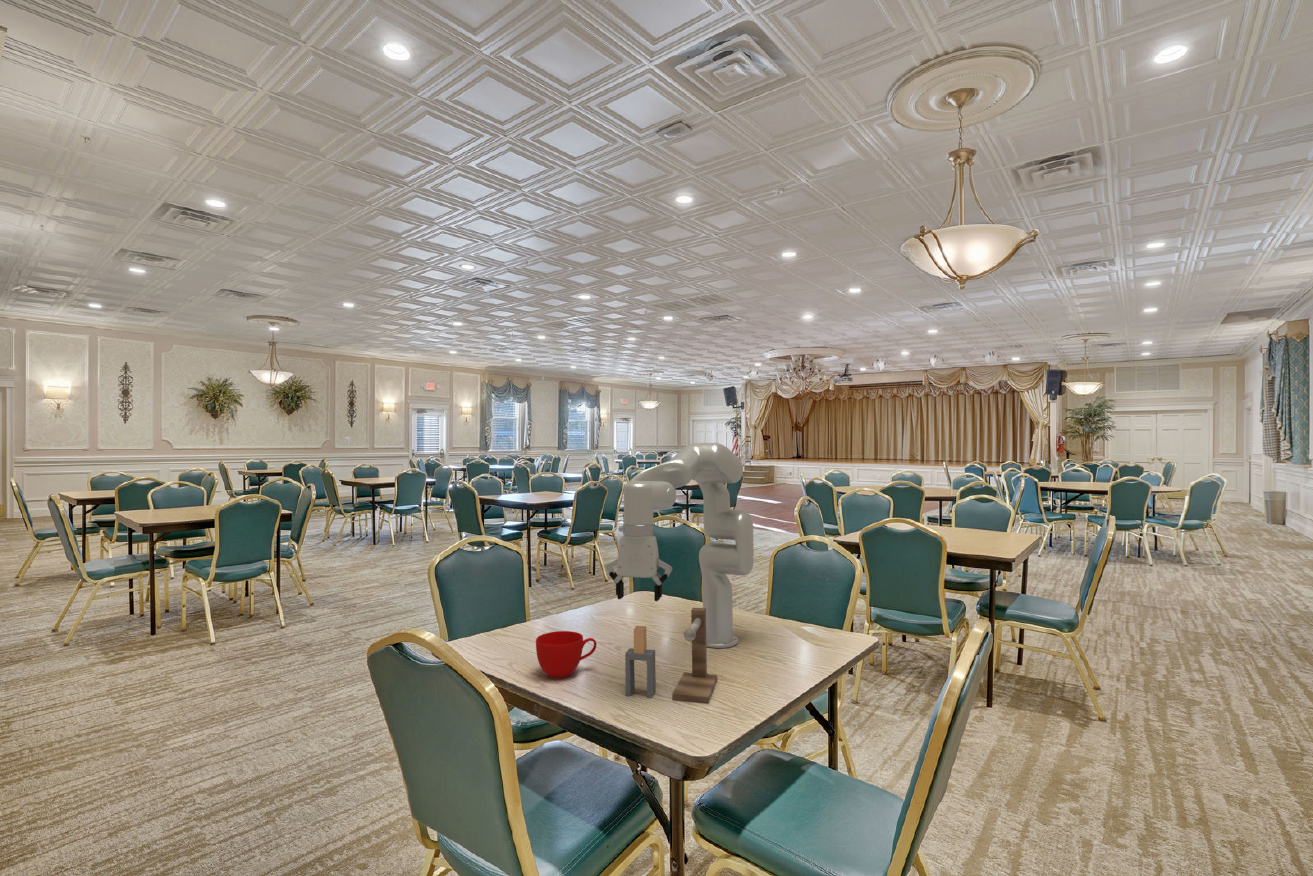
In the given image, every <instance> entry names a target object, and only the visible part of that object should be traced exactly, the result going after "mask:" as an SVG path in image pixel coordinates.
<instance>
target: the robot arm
mask: <svg viewBox="0 0 1313 876" xmlns="http://www.w3.org/2000/svg"><path fill="white" fill-rule="evenodd" d="M743 474H744V467H743V464H742V461H741V459H740V458H739V457H738V455H737V454H735V453H734V452H733V451H732V450H731V449H729V448H728V447H727V446H726V445H724V444H721V443H720V442H695V443H694V442H693V443H689V444H687V445H685V446H684V447H683V448H681V449H680V450H679V451H678V452H677V453H676V454H675V455H674V456H673V457H672V458H670V459H669V460H668V461H664V462H662V463H659V464H657V465H654V466H652V467H649V468H647V469H645V470H642V471H640V472H639V473H637V474H636V475H635V476H633V478H631V479H630V480H629V481H628V483H626V484H625V485H624V487H623V524H622V525H621V526H618V532H622V534H623V535H622V536H620V539H619V543H618V544H619V546H618V552H617V553H618V554H617V559H615V560H613V561H612V562H609V563H607V564H606V565H605V569H606V571H607V572H608V576H609V577H610V578H611V579H612V580H613V582H614V583H615V596H617V600H621V599H623V598H624V594H625V593H624V591H625V588H624V587H625V583H624V581H623V579H624V578H637V579H640V578H641V579H642V578H643V579H652V580H653V581H654V583H655V585H654V589H653V590H654V594H653V596H654V599H653V601H655V602H659V600H660V599H661V598H662V597H663V583H664V582H665V581H666V580H667V579H668V578H669V576H670V574H671V572H672V571H673V566H671V565H670V564H668V563H667V562H664V561H663V560H661V559H660V558H659V557H660V556H659V546H658V542H657V537H656V536H654V510H657V511H659V510H660V511H662V510H664V511H665V510H668V509H670V508H671V507H673V505H675V503H676V500H677V490H676V489H678V488H682V487H685V486H686V485H688V484H690V482H691V481H692V480H693V479H694V481H695V482H696V483H697V485H698V486H699V488H700V491H701V492H702V497H703V498H702V500H703V530H704V534H705V535H706V536H707V538H710V539H717V540H729V541H734V543H725V542H724V543H721V542H707V543H705V544H704V545H702V547H701V548H700V550H699V554H698V560H699V567H700V571H701V580H702V583H701V584H702V585H701V586H702V608H706V648H715V649H716V648H717V649H724V648H731V647H734V646H736V645H738V643H739V639H738V637H737V636H736V635H734V625H733V623H734V622H733V621H734V618H733V616H734V615H733V586H732V583H731V580H730V579H729V577H728V575H733V576H747V575H749V574H751V572H752V570H753V567H754V557H755V556H754V522H753V519H752V516H751V514H749V512H747V511H745V510H743V509H742V510H741V509H740V510H739V509H731V501H730V499H731V498H730V497H731V496H730V492H729V489H728V488H727V486H726V485H725V484H735V483H738V482H739V481H740V480H741V479H742V477H743ZM614 567H617V568H616V569H617V570H616V571H617V572H616V571H615V570H614ZM660 568H662V569H663V570H664V573H663V575H662V576H661V575H660V574H659V573H660Z"/></svg>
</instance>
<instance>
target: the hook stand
mask: <svg viewBox="0 0 1313 876" xmlns="http://www.w3.org/2000/svg"><path fill="white" fill-rule="evenodd" d="M690 612H691V615H690V617H691V618H690V619H691V625H690V626H689V628H688V627H687V628H686V629H685V630H684V631H683V638H684V639H685V640H686V641H688V642H691V671H692V672H688V671H684V672H683V673H682V675H681V677H680V679H679V681H678V683H677V684H676V686H675V688H674V690H673V692H672V694H671V700H672V701H677V702H690V703H699V704H701V703H702V704H709V703H710V700H711V699H712V695H713V694H714V690H715V687H716V686H717V683H718V674H714V673H708V671H707V669H708V668H707V666H708V662H707V657H708V655H707V653H708V652H707V646H706V608H703V607H692V608H691V611H690Z"/></svg>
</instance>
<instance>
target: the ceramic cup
mask: <svg viewBox="0 0 1313 876" xmlns="http://www.w3.org/2000/svg"><path fill="white" fill-rule="evenodd" d="M589 642H593V647H592V648H591V649H590V651H589V652H587V653H586V654H584V655H582V654H583V649H584V647H585V645H586V644H587V643H589ZM596 649H597V640H595V639H594V638H593V637H587V638H585V639H584V636H583V634H581V633H580V632H576V631H572V630H571V631H569V630H558V631H550V632H546V633H542V634H541V635H538V636H537V637H536V639H535V651H536V656H537V657H536V658H537V661H538V665H539V666H540V668H541V670H542V671H543V672H544V673H545V675H547V677H548V676H549V677H548V678H550V677H551V679H555V678H560V679H565V677H566V678H568V676H569V677H570V676H572V674H573V673H574V671H575V670H576V669H577V667H578V666H579V664H580V662H581V661H582V660H584V659H586V658H589V657H590V656H591V655H593V654H594V652H595V651H596Z"/></svg>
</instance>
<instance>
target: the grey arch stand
mask: <svg viewBox="0 0 1313 876" xmlns="http://www.w3.org/2000/svg"><path fill="white" fill-rule="evenodd" d="M647 639H648V638H647V626H645V625H644V626H643V625H636V626H635V627H634V628H633V648H629V649H627V651H625V653H624V655H625V656H624V659H625V660H624V661H625V663H624V664H625V668H624V671H625V672H624V674H625V679H624V680H625V681H624V682H625V696H626V697H630V696H632V694H633V693H634V692H633V691H635V686H636V685H635V683H636V681H635V679H636V678H635V661H639V662H640V661H642V662H646V695H647V696H646V697H647V698H650V699H652V698H653V697H654V696H655V694H656V693H657V692H656V691H657V686H656V684H657V683H656V682H657V681H656V674H657V673H656V650H655V649H647V643H648V642H647Z"/></svg>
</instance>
